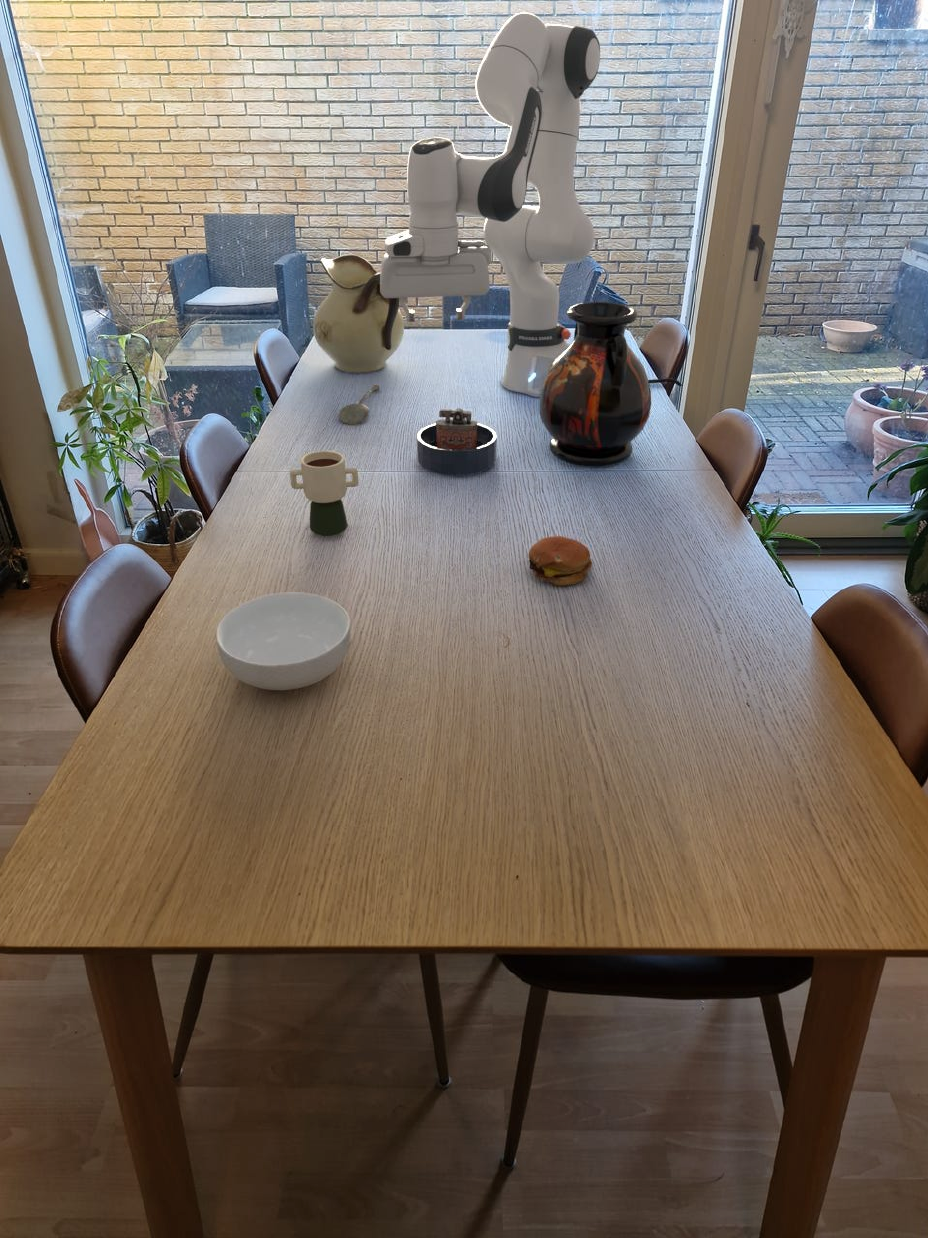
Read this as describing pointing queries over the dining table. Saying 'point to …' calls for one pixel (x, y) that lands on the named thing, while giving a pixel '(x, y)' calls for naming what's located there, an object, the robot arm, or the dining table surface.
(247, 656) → the cereal bowl
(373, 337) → the pitcher
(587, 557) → the burger
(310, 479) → the character mug
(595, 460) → the amphora vase
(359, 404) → the soupspoon
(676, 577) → the dining table surface
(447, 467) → the bowl
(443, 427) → the lighter
